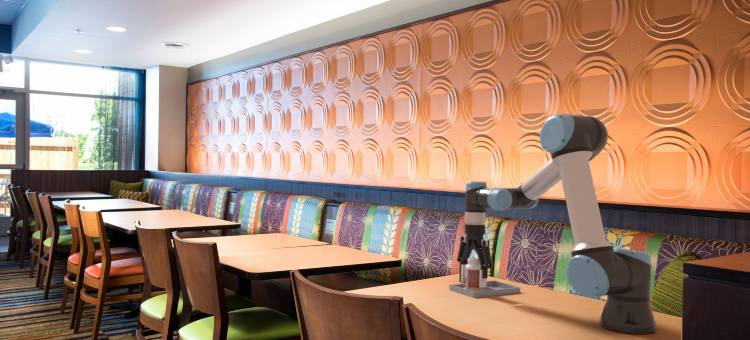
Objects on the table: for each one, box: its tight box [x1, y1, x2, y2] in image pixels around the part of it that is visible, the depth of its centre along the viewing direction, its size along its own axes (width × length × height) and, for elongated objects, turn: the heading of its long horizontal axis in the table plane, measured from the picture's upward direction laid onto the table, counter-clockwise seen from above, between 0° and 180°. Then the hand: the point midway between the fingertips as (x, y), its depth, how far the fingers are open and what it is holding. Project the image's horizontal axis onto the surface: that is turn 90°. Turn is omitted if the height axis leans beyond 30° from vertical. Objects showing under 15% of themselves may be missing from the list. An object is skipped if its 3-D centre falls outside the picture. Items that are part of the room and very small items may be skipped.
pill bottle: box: [465, 257, 482, 290], centre depth 215 cm, size 6×6×11 cm
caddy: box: [448, 280, 521, 299], centre depth 218 cm, size 14×22×2 cm, turn 120°
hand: (473, 284), depth 215 cm, fingers open, 10 cm apart
